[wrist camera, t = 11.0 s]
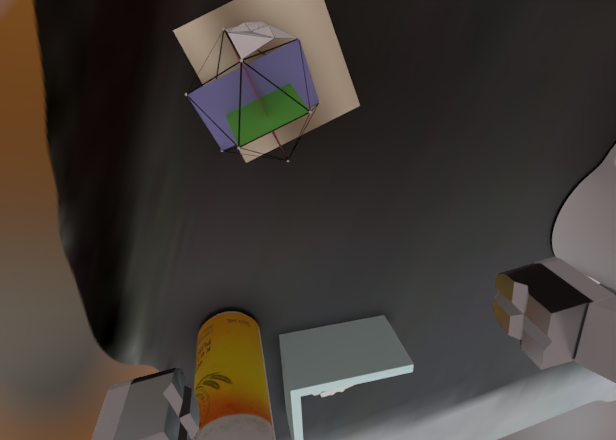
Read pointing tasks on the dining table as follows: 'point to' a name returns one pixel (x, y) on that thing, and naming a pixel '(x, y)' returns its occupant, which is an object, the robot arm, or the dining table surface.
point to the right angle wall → (337, 361)
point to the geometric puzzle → (256, 89)
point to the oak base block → (289, 18)
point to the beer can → (232, 380)
